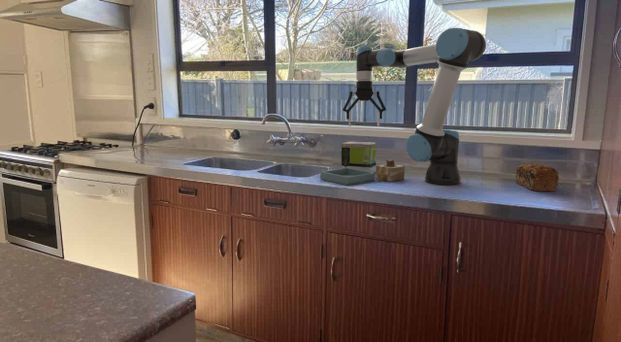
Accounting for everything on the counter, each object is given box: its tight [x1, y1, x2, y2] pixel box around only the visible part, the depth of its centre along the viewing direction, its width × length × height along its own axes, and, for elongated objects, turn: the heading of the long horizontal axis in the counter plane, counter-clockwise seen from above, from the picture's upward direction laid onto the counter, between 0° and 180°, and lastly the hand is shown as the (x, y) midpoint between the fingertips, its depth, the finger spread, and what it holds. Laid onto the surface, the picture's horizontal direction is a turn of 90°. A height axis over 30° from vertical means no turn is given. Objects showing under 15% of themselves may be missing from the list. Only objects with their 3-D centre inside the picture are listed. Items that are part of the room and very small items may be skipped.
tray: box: [320, 168, 376, 187], centre depth 202 cm, size 18×17×4 cm
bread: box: [515, 162, 560, 193], centre depth 189 cm, size 19×11×10 cm, turn 175°
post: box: [385, 159, 396, 167], centre depth 205 cm, size 2×3×9 cm
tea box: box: [340, 141, 377, 173], centre depth 221 cm, size 15×10×15 cm
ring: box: [375, 163, 406, 182], centre depth 205 cm, size 9×12×6 cm
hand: (364, 126), depth 215 cm, fingers open, 13 cm apart
